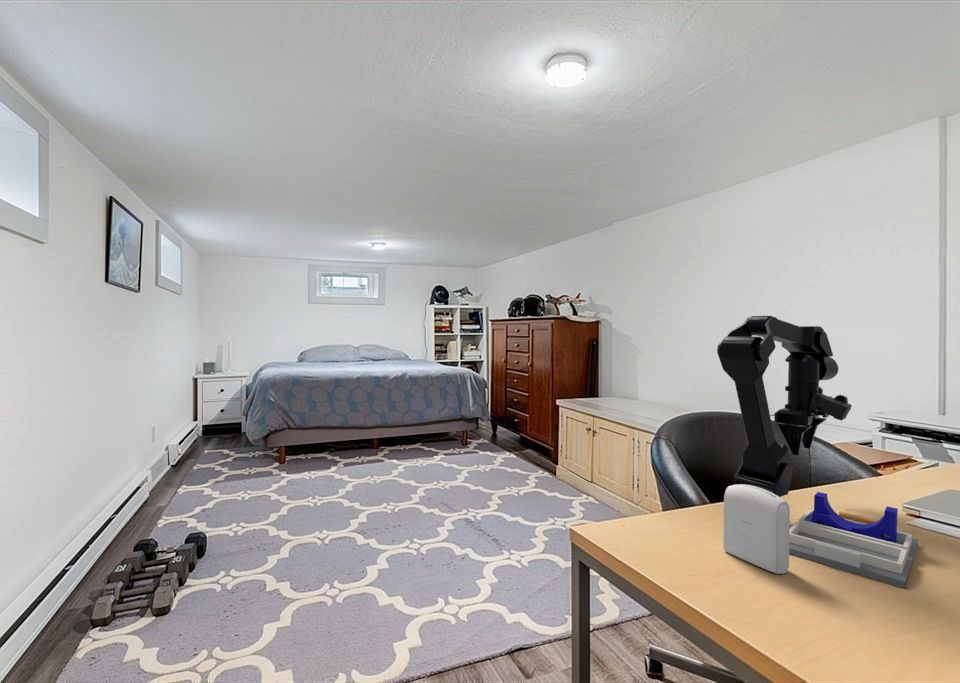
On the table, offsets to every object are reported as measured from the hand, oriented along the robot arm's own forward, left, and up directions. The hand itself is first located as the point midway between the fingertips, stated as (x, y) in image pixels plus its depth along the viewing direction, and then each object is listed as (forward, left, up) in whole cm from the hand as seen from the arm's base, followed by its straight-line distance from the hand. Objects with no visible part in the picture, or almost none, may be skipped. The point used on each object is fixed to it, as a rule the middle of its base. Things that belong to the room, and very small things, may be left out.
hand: (801, 451), depth 107 cm
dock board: (-5, -22, -12) cm, 25 cm away
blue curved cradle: (-2, -18, -11) cm, 21 cm away
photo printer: (-25, -28, -12) cm, 39 cm away
